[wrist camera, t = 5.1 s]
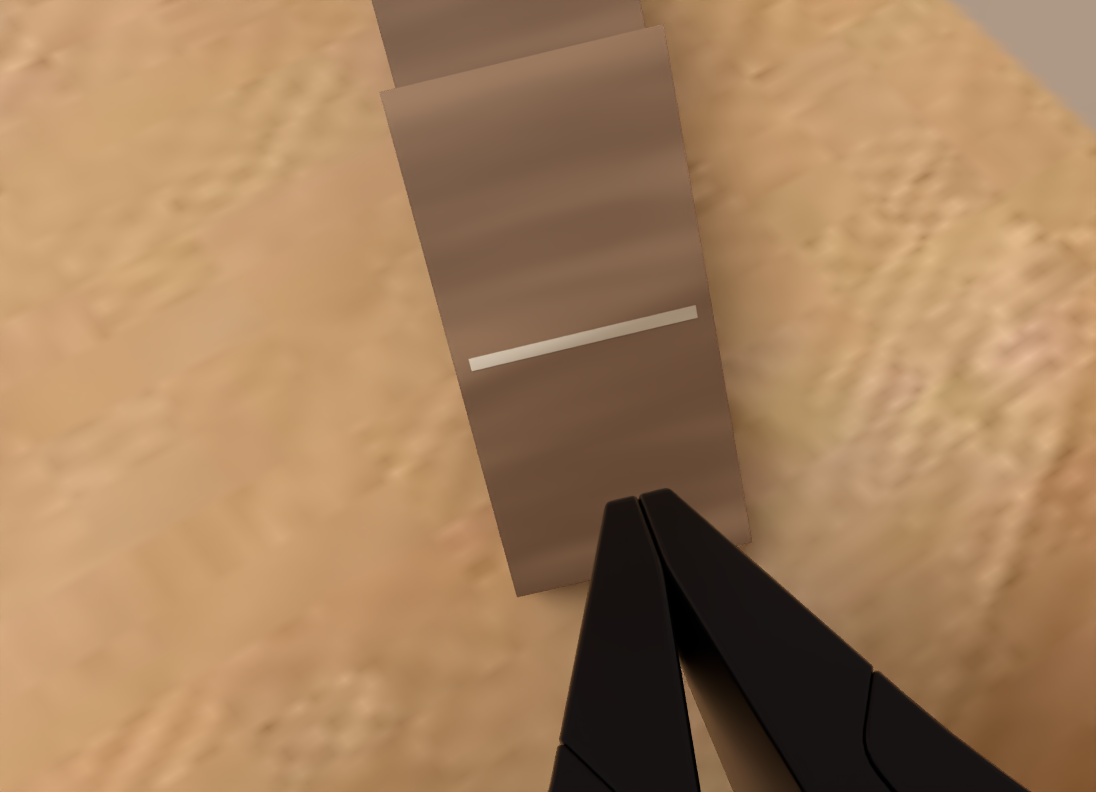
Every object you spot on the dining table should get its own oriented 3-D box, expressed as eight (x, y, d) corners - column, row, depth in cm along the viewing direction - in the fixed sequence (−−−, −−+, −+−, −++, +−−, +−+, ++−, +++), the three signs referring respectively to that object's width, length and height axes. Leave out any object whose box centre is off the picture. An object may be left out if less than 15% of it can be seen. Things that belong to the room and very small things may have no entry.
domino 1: (699, 328, 16) (603, -207, 13) (476, 382, 16) (333, -140, 13) (679, 315, 17) (591, -158, 15) (479, 363, 17) (355, -98, 15)
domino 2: (752, 543, 15) (663, 23, 12) (516, 598, 15) (379, 91, 12) (726, 506, 17) (643, 47, 14) (516, 556, 17) (395, 106, 14)
